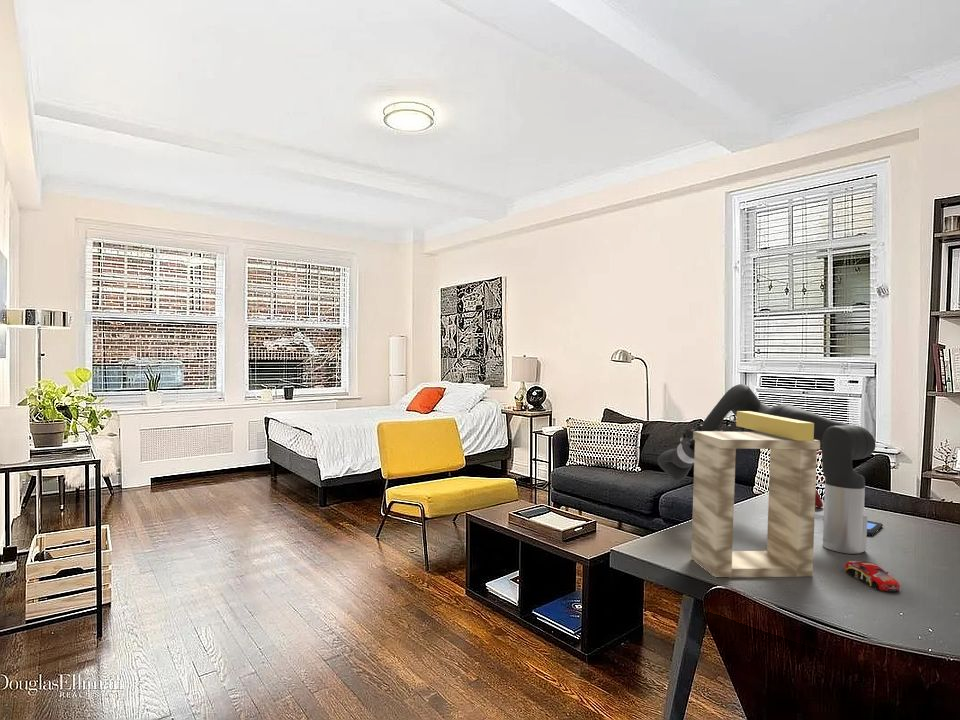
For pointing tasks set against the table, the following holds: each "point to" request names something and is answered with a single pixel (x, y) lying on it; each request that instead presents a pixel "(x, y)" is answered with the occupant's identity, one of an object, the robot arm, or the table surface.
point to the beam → (776, 425)
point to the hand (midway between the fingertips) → (716, 428)
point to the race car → (872, 575)
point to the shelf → (785, 507)
